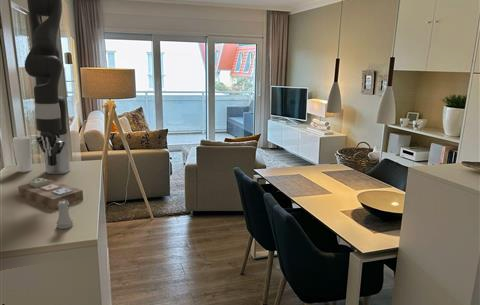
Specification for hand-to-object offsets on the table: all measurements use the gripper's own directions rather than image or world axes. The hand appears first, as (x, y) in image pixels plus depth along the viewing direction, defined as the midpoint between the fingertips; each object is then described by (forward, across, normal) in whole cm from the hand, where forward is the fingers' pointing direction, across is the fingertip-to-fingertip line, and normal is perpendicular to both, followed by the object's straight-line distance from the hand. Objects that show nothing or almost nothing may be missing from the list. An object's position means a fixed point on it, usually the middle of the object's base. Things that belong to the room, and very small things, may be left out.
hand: (52, 165), depth 122 cm
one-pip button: (+11, +1, +1) cm, 11 cm away
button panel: (+12, +1, +1) cm, 12 cm away
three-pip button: (+10, +8, +1) cm, 13 cm away
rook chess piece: (+12, -23, +12) cm, 29 cm away
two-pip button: (+10, -6, +1) cm, 12 cm away
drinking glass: (+13, +40, -12) cm, 44 cm away
